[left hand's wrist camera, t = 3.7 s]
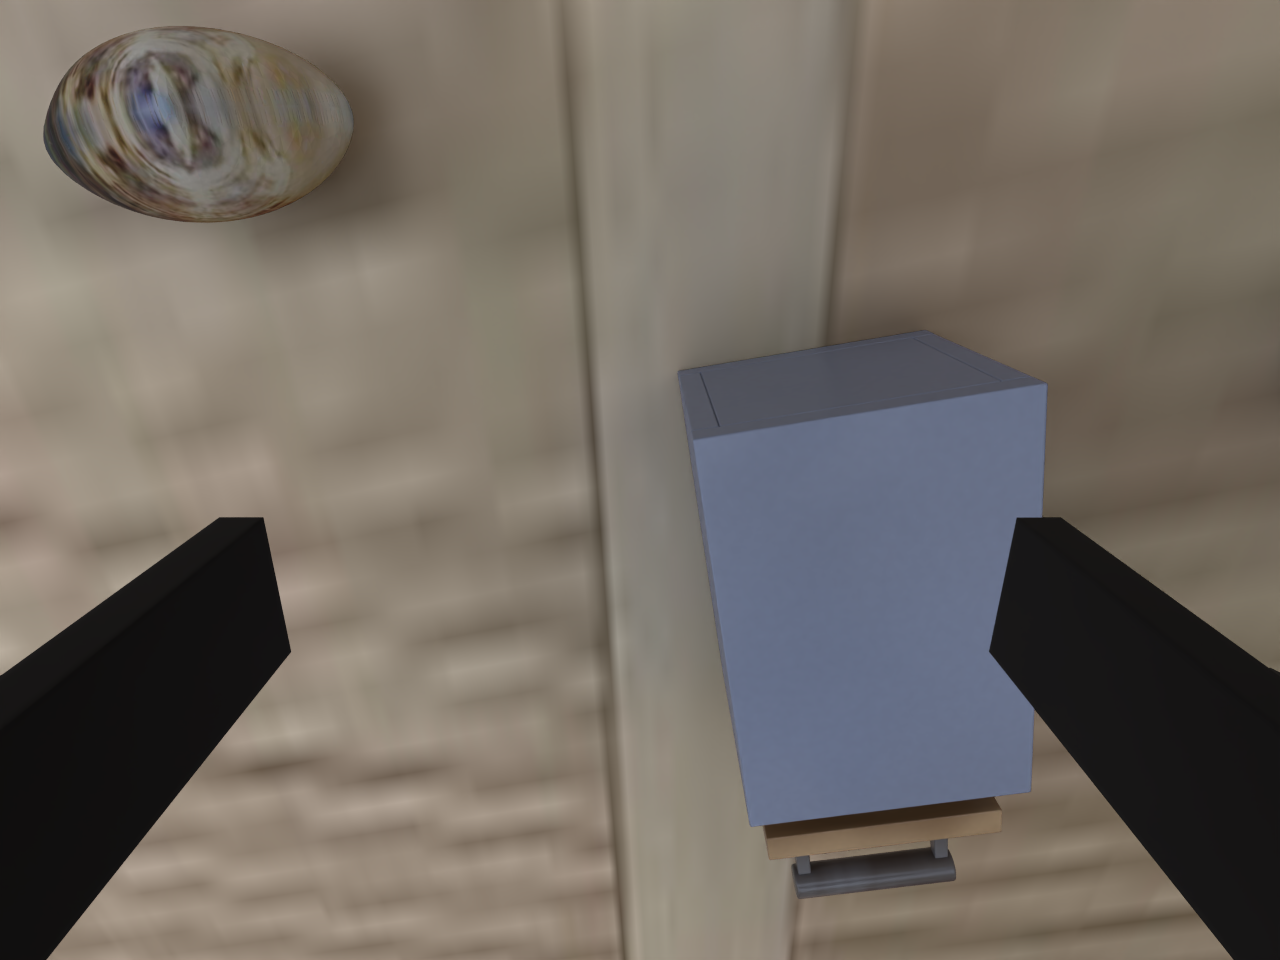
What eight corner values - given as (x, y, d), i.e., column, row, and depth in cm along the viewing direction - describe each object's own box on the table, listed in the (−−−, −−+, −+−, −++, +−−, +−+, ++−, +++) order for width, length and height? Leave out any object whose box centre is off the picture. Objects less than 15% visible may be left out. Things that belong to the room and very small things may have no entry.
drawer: (931, 783, 38) (1000, 920, 30) (754, 805, 38) (781, 945, 31) (922, 432, 31) (1009, 502, 23) (705, 466, 31) (725, 545, 24)
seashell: (357, 34, 26) (243, -36, 18) (399, 200, 28) (310, 197, 20) (112, 77, 26) (-97, 25, 19) (170, 237, 28) (3, 247, 21)
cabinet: (932, 644, 36) (1031, 792, 27) (723, 673, 36) (750, 827, 27) (925, 329, 30) (1048, 382, 21) (677, 371, 31) (692, 439, 22)
